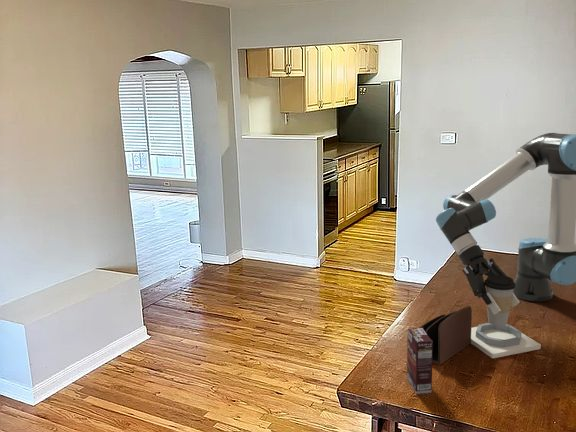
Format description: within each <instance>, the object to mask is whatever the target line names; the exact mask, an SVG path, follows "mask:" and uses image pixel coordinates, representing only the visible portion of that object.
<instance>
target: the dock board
mask: <svg viewBox="0 0 576 432" xmlns="http://www.w3.org/2000/svg"><path fill="white" fill-rule="evenodd" d="M470 344H471V345H473V346H474V347H475V348H477V349H478V350H480V351H481V352H483V353H484V354H485V355H487V356H488V357H489V358H491V359H497V358H502V357H507V356H511V355H512V356H513V355H517V354H523V353H527V352H531V351H537V350H541V347H542V344H541V343H540V342H538V341H536V340H534V339H532V338H530V337H529V336H527V335H525V334H524V333H523V332H522V331H521V330H519V329H518V328H516V327H515V326H513V325H511V324H508V323H507V324H506V325H505V326H495V325H492V324H490V323H489V322H485V323H479V324H478V325H477V326H474V327H471V343H470Z"/></svg>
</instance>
